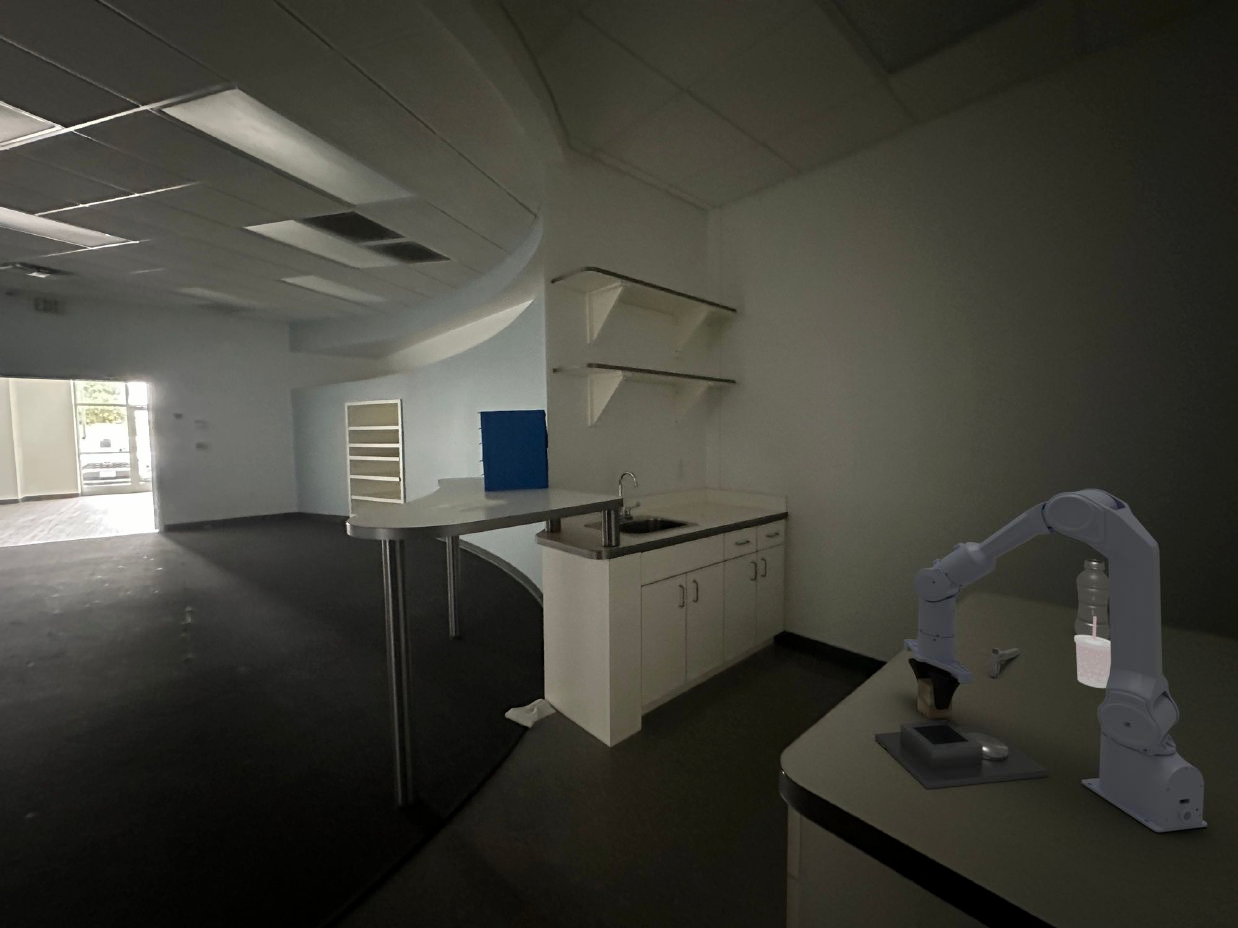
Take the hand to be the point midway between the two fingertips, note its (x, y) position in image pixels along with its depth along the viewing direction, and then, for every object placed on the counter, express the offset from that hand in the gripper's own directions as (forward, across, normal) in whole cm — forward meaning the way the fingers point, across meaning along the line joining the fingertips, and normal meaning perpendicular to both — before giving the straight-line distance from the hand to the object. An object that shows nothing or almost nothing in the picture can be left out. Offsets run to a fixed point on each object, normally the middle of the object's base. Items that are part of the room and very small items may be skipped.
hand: (934, 703), depth 92 cm
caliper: (+2, -16, +31) cm, 35 cm away
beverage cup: (+2, -6, +41) cm, 41 cm away
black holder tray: (+2, +12, -6) cm, 14 cm away
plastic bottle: (+2, -25, +64) cm, 69 cm away
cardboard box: (+2, 0, 0) cm, 2 cm away
